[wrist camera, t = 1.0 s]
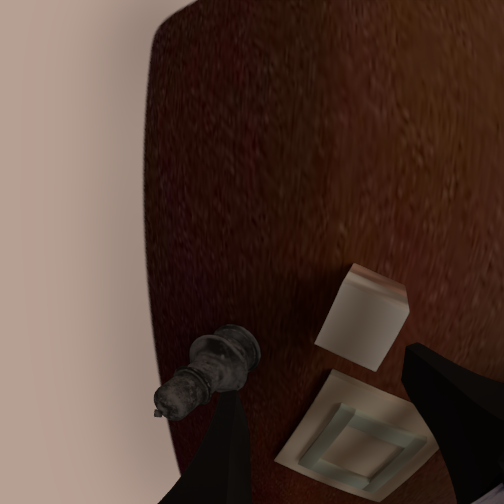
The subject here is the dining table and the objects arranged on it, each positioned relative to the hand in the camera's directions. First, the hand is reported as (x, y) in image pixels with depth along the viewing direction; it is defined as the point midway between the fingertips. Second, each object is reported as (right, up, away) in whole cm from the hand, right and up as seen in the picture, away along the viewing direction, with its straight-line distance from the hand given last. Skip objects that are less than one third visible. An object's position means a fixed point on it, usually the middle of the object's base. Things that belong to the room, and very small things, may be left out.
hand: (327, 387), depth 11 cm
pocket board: (+8, -14, +13) cm, 21 cm away
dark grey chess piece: (-4, -4, +18) cm, 19 cm away
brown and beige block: (+6, +2, +11) cm, 13 cm away
